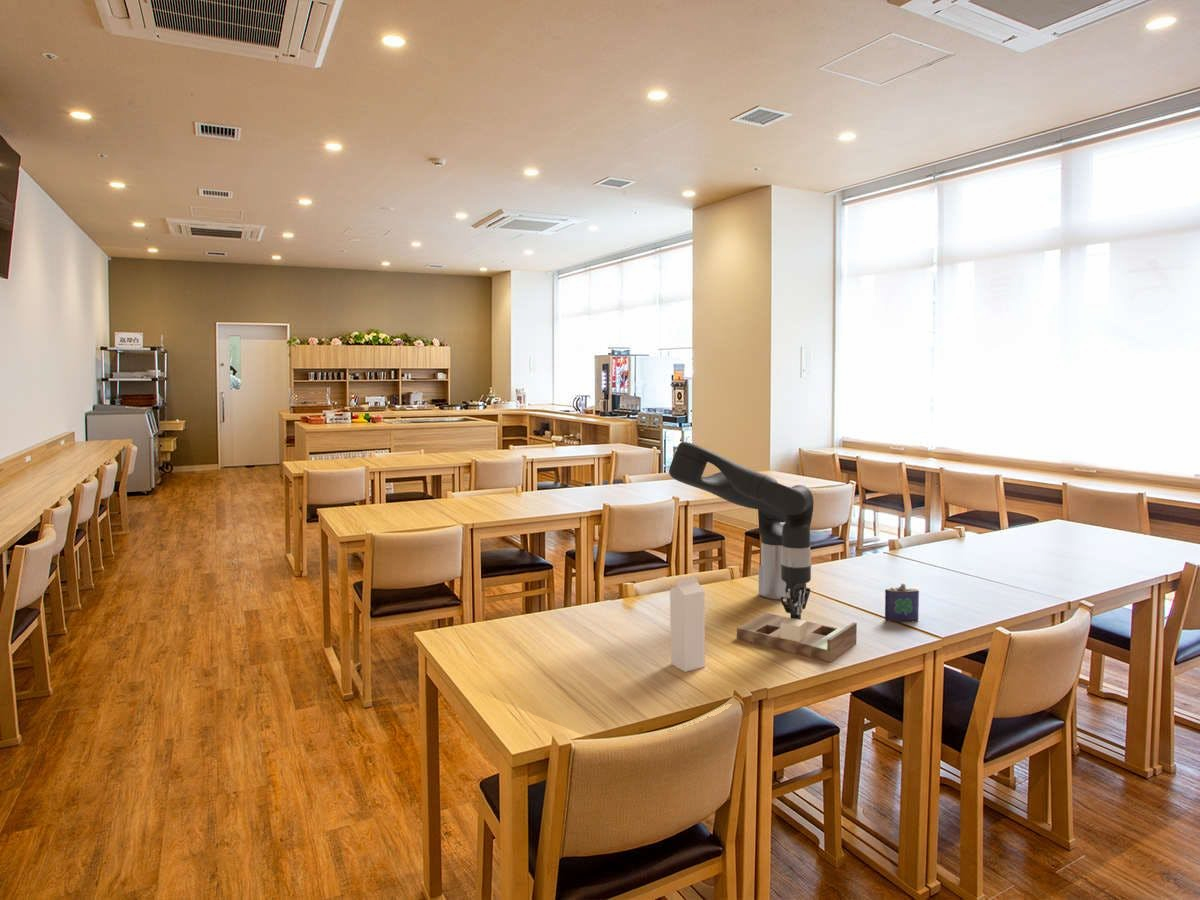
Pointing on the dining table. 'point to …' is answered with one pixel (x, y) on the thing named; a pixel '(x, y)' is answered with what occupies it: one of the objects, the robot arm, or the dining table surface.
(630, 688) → the dining table surface
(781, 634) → the block
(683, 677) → the dining table surface
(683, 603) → the milk
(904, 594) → the flask
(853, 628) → the board
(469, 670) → the dining table surface
